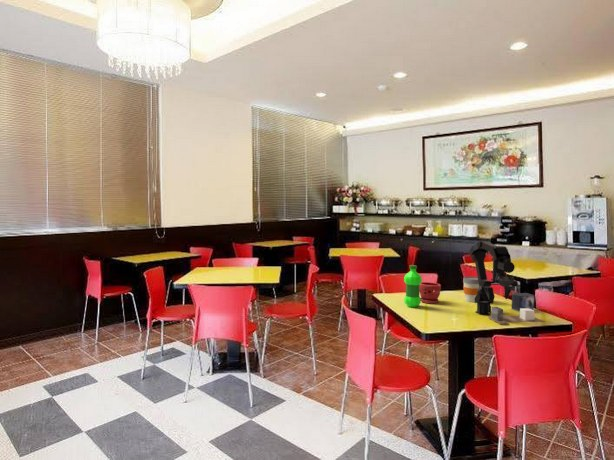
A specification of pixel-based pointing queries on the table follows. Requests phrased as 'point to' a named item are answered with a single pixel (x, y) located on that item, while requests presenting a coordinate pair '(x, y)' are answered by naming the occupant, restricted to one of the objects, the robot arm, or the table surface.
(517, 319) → the walnut strip
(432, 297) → the plant pot
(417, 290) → the plastic bottle
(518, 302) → the small box
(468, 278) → the reusable coffee cup
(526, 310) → the off-white block
